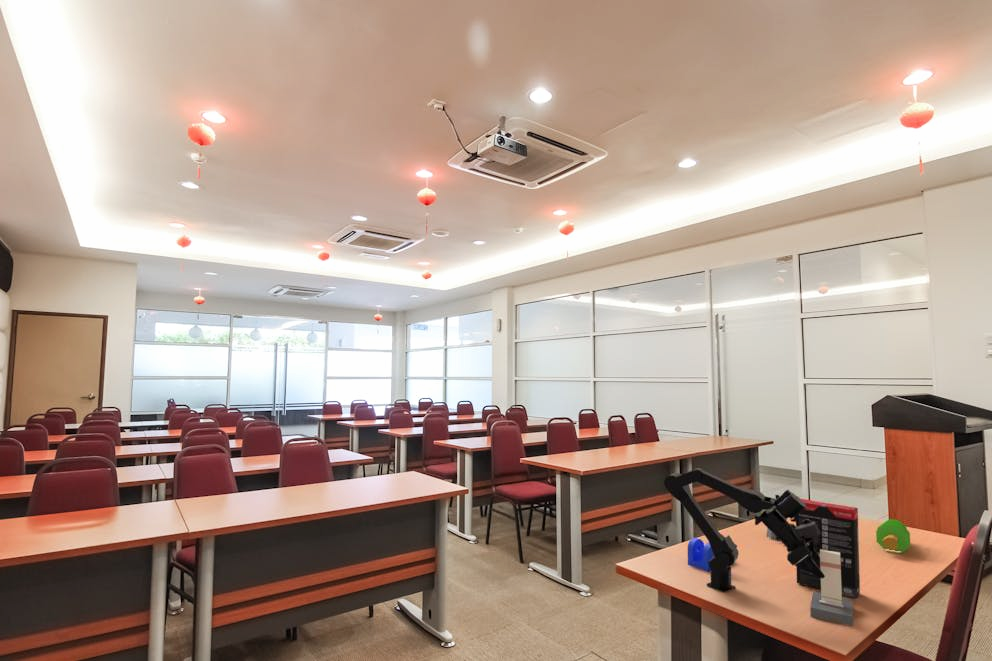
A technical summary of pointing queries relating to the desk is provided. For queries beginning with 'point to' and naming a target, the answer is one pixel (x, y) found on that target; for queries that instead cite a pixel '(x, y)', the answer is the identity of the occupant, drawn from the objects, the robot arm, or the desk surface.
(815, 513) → the graphics card box
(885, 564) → the desk surface
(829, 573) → the strip
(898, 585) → the desk surface
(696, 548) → the bracket
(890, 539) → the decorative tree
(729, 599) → the desk surface
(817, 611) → the base
